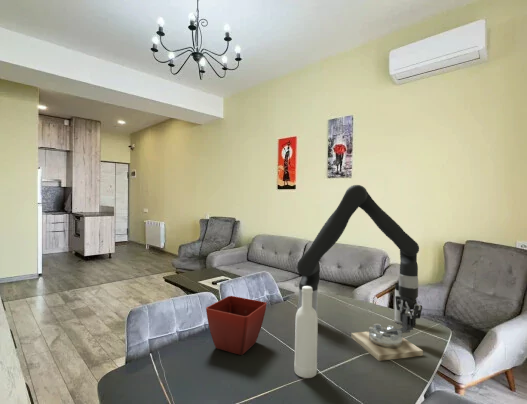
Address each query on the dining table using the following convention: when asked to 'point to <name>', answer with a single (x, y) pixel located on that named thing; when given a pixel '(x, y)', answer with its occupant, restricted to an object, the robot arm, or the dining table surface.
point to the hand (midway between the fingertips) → (407, 324)
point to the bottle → (306, 336)
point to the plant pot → (235, 323)
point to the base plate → (383, 352)
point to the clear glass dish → (390, 333)
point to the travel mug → (397, 313)
